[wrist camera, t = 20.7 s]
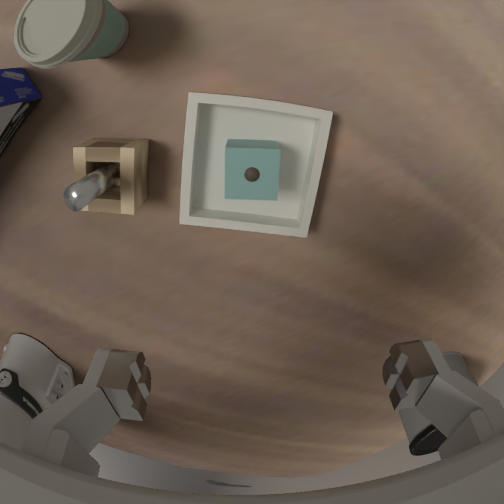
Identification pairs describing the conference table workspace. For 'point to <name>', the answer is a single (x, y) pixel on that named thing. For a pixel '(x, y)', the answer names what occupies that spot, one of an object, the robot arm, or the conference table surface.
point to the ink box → (15, 102)
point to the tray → (254, 128)
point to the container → (421, 429)
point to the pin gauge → (91, 186)
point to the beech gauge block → (131, 172)
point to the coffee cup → (68, 31)
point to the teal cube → (252, 169)
